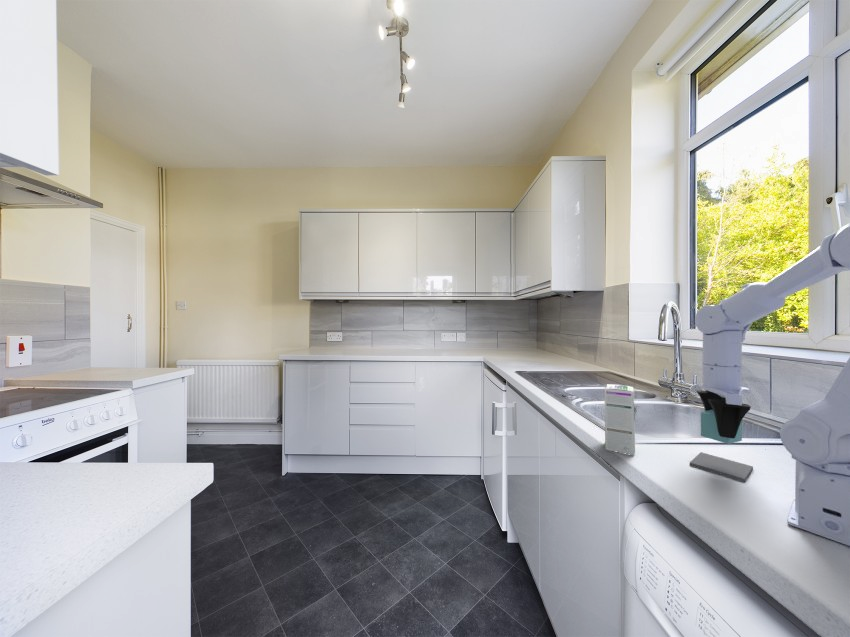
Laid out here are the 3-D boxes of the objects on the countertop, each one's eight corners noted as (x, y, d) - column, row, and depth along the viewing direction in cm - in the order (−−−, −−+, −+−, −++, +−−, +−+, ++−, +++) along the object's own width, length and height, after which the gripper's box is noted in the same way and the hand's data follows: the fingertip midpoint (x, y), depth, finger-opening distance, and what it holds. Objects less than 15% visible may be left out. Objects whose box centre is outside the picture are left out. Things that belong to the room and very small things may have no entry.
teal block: (728, 444, 60) (728, 418, 60) (700, 435, 64) (700, 411, 64) (741, 440, 61) (741, 415, 61) (714, 432, 65) (714, 409, 65)
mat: (744, 482, 57) (744, 479, 57) (689, 465, 64) (689, 462, 64) (752, 469, 62) (753, 466, 62) (700, 454, 68) (700, 452, 68)
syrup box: (635, 456, 68) (635, 391, 67) (604, 450, 71) (604, 387, 71) (634, 447, 72) (634, 385, 72) (605, 441, 76) (605, 382, 75)
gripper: (766, 372, 54) (765, 448, 54) (735, 361, 67) (734, 423, 67) (712, 369, 58) (712, 440, 58) (692, 359, 70) (692, 418, 70)
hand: (720, 431), depth 63 cm, fingers closed on teal block, 6 cm apart
